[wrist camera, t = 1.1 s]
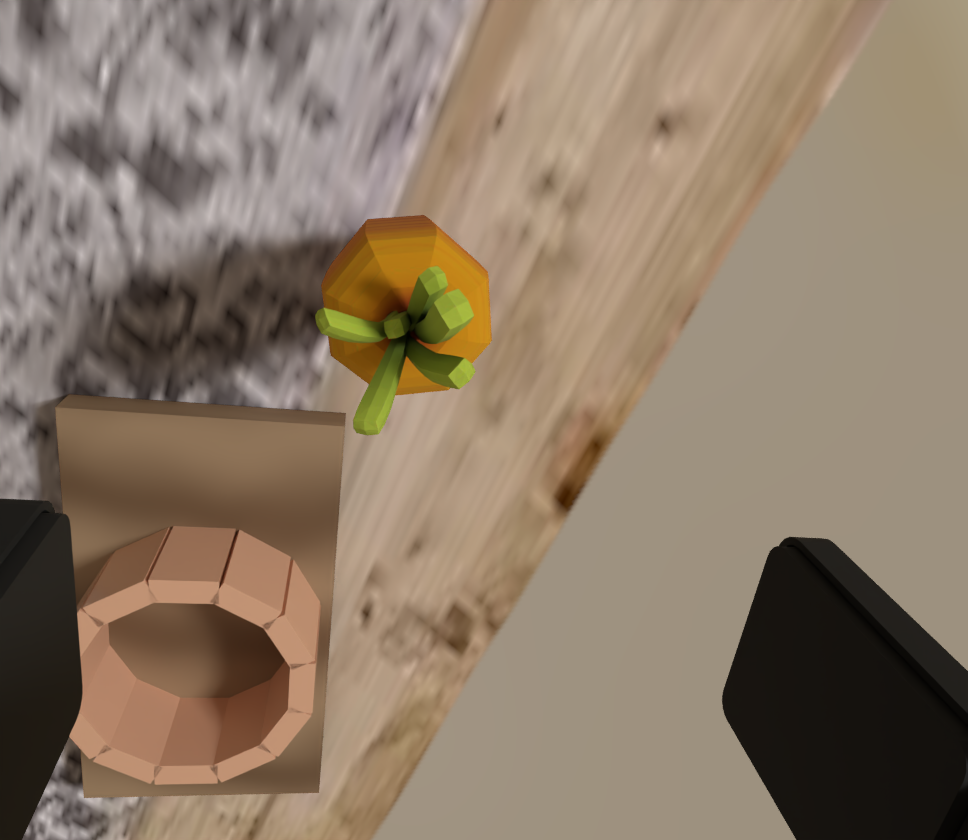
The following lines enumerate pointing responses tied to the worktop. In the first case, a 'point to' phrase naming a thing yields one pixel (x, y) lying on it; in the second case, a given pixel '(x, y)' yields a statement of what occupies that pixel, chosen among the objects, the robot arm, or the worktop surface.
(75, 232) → the worktop surface
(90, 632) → the terracotta cup
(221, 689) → the walnut board
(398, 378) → the carrot
